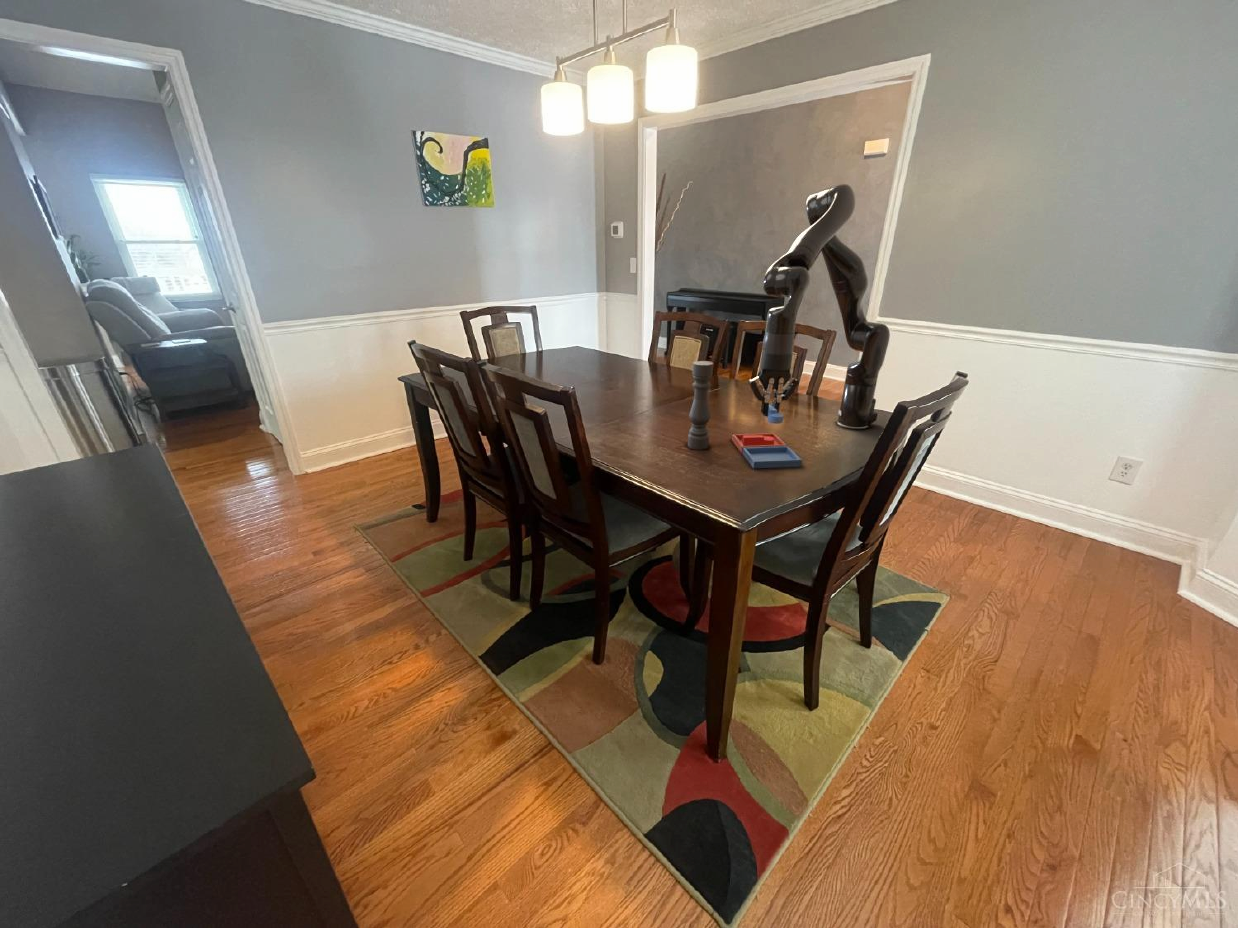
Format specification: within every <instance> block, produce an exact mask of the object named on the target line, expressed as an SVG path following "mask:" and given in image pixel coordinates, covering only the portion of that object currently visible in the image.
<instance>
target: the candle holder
mask: <svg viewBox="0 0 1238 928" xmlns="http://www.w3.org/2000/svg"><path fill="white" fill-rule="evenodd" d="M713 369H714V363H713V362H712V361H708V360H697V361H693V362H692V372H691V373H692V378H693V380H694V381H693V382H692V387H693V389H694V392H693V393H694V395H693V401H692V404H691V408H690V411H689V415H688V417H689V421H690V422H691V427H690V428H689V431H688V432H689V433H688V435H687V447H688V448H689V449H692V450H699V451H701V450H706V449H708V448H709V443H710V442H709V441H710V440H709V439H710V435H709V429H708V427H707V426H708V423H709V422H710V419H711V412H710V407H709V401H708V400H709V399H708V395H709V389H710V388H711V386H712V384H711V383H710V380H711V378H712V376H713Z"/></svg>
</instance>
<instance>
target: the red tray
mask: <svg viewBox="0 0 1238 928" xmlns="http://www.w3.org/2000/svg"><path fill="white" fill-rule="evenodd" d="M747 435H763V436H770V437H773V438H774V445H749V446H743V444H742V438H743V436H747ZM731 441H732V443H733V444H734V445H735V447H736V448H737V449H738V450H739V452H740V453H741V454H742V453H743V448H749V447H781V446H788V445H787V444H786V442H784V441H783V440H782V438H780V437H779V436H778V435H777V434H776V433H775V432H771V433H770V432H767V433H765V432H764V433H737V434H734V433H733V434H732V437H731Z"/></svg>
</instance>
